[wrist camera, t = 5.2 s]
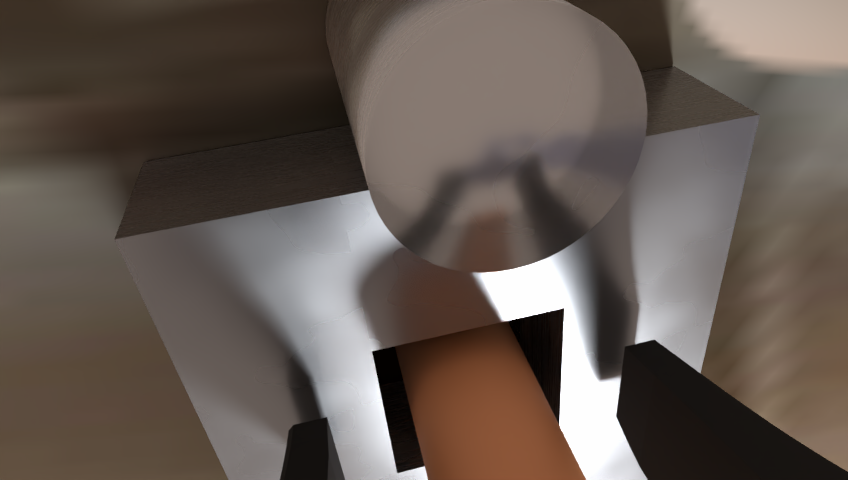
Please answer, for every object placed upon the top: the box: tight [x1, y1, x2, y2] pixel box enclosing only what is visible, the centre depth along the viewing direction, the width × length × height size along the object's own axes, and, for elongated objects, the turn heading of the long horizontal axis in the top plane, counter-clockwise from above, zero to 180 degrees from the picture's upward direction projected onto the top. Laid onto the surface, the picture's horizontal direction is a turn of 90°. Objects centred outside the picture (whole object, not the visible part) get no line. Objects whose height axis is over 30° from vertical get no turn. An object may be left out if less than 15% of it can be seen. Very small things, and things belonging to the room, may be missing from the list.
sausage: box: [395, 321, 586, 480], centre depth 12 cm, size 3×3×6 cm
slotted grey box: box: [114, 0, 760, 480], centre depth 11 cm, size 10×13×5 cm
